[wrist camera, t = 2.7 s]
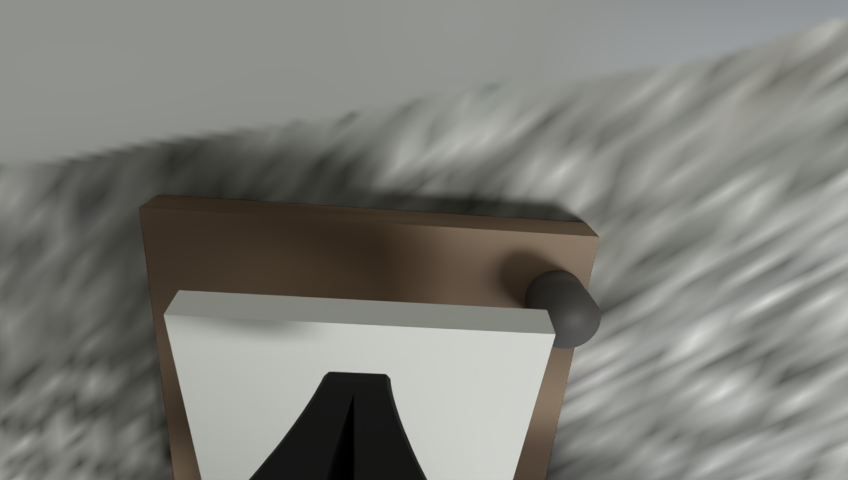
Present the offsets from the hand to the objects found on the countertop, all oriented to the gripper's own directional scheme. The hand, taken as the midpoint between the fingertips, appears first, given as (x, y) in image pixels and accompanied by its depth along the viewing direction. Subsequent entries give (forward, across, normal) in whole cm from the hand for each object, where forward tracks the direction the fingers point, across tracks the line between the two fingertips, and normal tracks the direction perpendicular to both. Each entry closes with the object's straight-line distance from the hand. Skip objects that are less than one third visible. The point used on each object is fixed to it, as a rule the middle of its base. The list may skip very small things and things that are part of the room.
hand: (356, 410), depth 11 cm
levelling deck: (+5, 0, +8) cm, 9 cm away
